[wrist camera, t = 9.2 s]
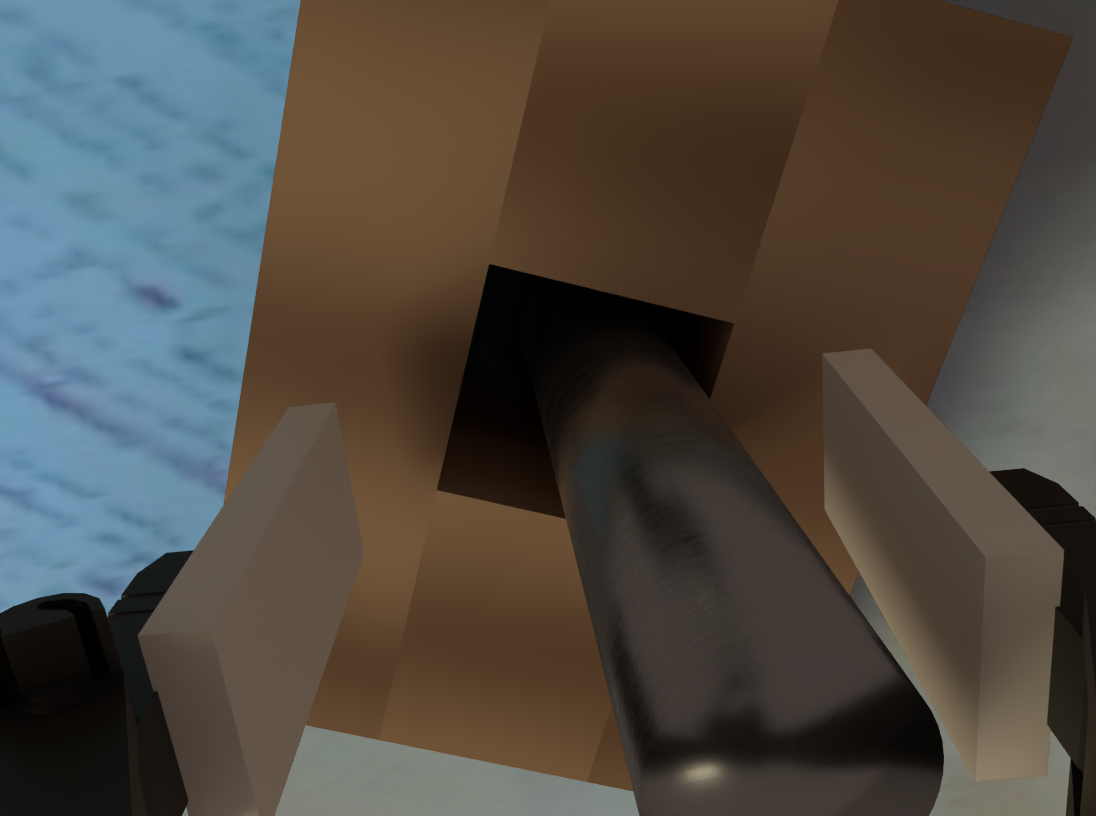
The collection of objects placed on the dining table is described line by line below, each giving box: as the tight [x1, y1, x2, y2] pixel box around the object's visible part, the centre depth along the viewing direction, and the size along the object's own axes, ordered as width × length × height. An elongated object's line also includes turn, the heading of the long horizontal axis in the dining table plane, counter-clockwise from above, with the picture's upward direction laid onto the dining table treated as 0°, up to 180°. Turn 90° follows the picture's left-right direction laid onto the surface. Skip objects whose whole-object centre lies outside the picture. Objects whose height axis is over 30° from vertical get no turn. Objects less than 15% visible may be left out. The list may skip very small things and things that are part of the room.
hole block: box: [224, 0, 1073, 791], centre depth 22 cm, size 16×12×6 cm
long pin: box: [518, 276, 944, 816], centre depth 17 cm, size 3×3×16 cm
